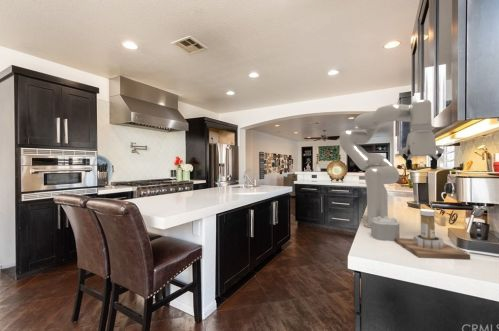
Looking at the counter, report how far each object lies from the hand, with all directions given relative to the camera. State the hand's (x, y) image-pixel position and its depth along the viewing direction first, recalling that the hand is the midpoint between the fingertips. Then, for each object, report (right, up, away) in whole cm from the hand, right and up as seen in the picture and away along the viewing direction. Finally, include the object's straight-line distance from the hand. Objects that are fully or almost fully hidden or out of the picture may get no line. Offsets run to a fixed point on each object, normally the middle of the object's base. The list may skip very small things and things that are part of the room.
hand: (421, 169), depth 103 cm
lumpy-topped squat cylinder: (-13, -31, +5) cm, 34 cm away
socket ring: (-6, -29, -12) cm, 32 cm away
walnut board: (-6, -30, -12) cm, 33 cm away
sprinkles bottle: (-6, -29, -12) cm, 32 cm away
